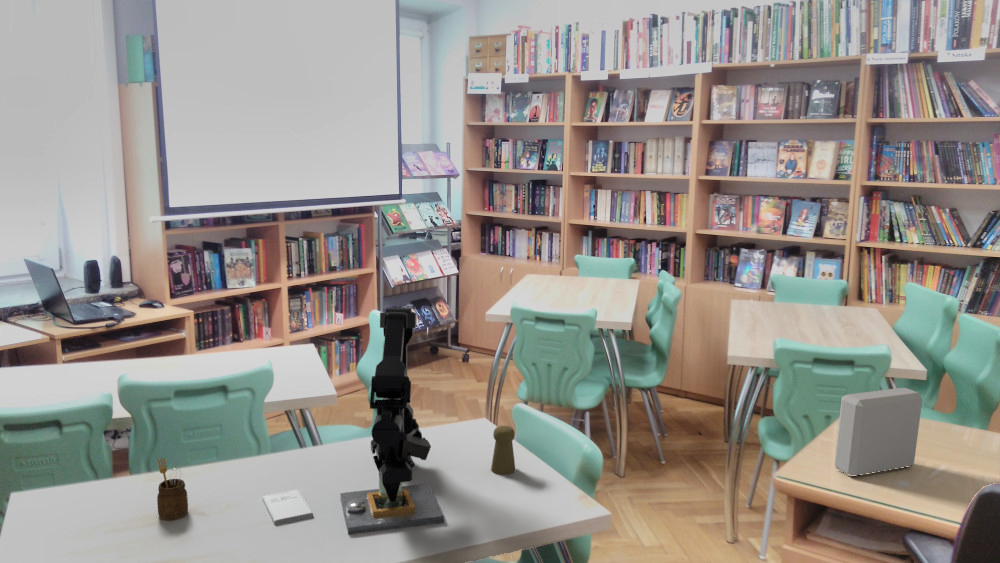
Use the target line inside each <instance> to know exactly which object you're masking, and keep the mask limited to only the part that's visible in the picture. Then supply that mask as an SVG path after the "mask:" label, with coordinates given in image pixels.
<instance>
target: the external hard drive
mask: <svg viewBox="0 0 1000 563" xmlns="http://www.w3.org/2000/svg"><path fill="white" fill-rule="evenodd" d="M261 499H262V502H263V504H264V506H265V509H266V511H267V513H268V514H269V516H270V519H271V521H272V523H273V525H275V526H277V525H280V524H285V523H289V522H295V521H299V520H304V519H309V518H313V517H314V512H313V510H312V509H311V508H310V506H309V504H308V502H307V501H306V499H305V498H304V496H303V494H302V493H301V491H300V490H299V489H292V490H288V491H283V492H277V493H272V494H267V495H263V496H262V498H261Z"/></svg>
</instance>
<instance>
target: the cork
mask: <svg viewBox="0 0 1000 563" xmlns="http://www.w3.org/2000/svg"><path fill="white" fill-rule="evenodd" d="M495 427H496V426H495ZM515 433H516V432H515V429H514V428H512V427H511V426H509V425H499V426H497V427H496V428H494V430H493V439H494V440H495V441H494V442H495V443H494V449H493V454H492V461H491V468H490V471H491V472H492V473H493V474H495V475H498V474H499V476H508V475H512V474H514V473H515V472H516V463H515V462H516V461H515V453H514V446H513V445H514V444H513V441H514V439H515Z"/></svg>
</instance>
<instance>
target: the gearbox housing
mask: <svg viewBox="0 0 1000 563" xmlns="http://www.w3.org/2000/svg"><path fill="white" fill-rule="evenodd" d="M339 495H340V503H341V507H342V512H343V516H344V521H345V526H346V530H347V534H348V535H355V534H356V535H357V534H365V533H370V532H371V533H372V532H378V531H387V530H394V529H403V528H409V527H419V526H426V525H427V526H428V525H433V524H443V523H445V522H444V520H445V519H444V518H445V516H444V514H443V511H442V509H441V507H440V505H439V503H438V501H437V499H436V496H435V495H434V492H433V491H432V488H431V486H430V484H429V483H427V482H426V483H419V484H411V485H410V484H409V485H402V503H404V505H403V506H401V505H399V506H397V507H392V508H386V507H383V508H378V507H377V505H380V504H379V488H375V489H365V490H356V491H347V492H340V494H339Z"/></svg>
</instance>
